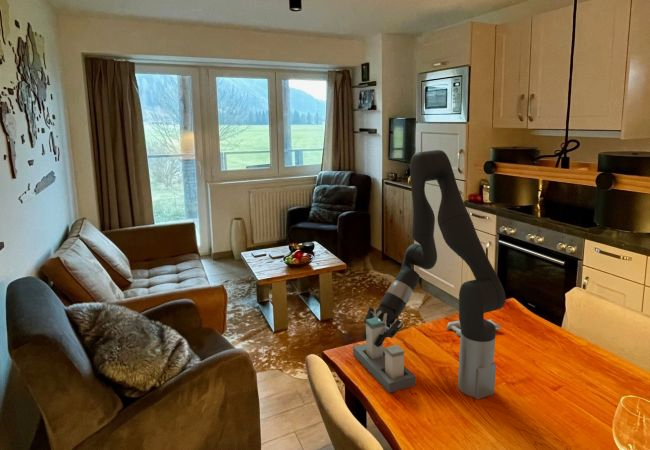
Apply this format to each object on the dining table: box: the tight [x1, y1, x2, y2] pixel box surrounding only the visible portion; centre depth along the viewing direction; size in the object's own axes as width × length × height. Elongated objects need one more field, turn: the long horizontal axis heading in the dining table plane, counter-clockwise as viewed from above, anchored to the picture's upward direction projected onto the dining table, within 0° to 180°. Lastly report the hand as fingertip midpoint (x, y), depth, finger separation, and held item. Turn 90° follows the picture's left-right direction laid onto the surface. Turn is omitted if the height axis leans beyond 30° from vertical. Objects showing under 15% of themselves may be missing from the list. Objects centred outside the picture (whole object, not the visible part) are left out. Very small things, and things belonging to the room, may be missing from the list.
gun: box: [446, 319, 502, 337], centre depth 160 cm, size 18×3×10 cm
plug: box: [365, 317, 384, 359], centre depth 139 cm, size 4×4×12 cm
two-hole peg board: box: [352, 343, 417, 393], centre depth 135 cm, size 23×9×10 cm, turn 23°
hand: (370, 342), depth 138 cm, fingers closed on plug, 5 cm apart
